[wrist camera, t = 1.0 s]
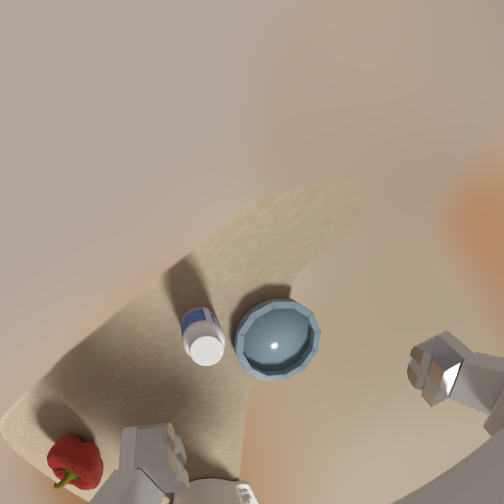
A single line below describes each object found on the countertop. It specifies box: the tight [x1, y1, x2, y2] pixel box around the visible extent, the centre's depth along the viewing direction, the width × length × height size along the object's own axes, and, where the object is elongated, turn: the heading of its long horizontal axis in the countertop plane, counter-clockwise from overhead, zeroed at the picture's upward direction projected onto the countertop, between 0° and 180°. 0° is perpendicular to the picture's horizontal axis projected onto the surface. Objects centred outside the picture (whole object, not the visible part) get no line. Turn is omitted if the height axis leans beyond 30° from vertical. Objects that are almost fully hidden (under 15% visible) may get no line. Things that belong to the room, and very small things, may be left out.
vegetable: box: [47, 435, 104, 490], centre depth 36 cm, size 11×10×10 cm
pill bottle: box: [181, 306, 225, 366], centre depth 39 cm, size 6×5×10 cm
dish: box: [234, 298, 321, 381], centre depth 46 cm, size 13×13×2 cm
